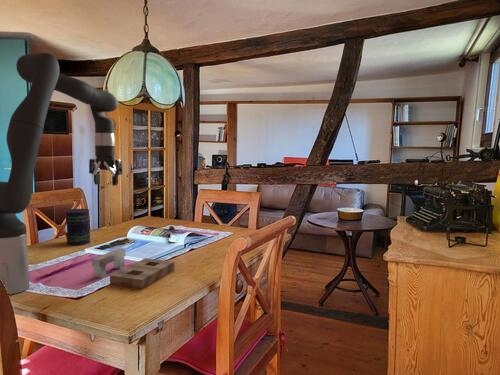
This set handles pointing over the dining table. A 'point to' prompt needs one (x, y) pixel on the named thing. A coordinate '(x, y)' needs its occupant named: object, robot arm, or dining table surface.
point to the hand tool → (171, 229)
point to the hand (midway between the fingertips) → (106, 184)
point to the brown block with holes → (142, 273)
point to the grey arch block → (104, 259)
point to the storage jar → (77, 227)
